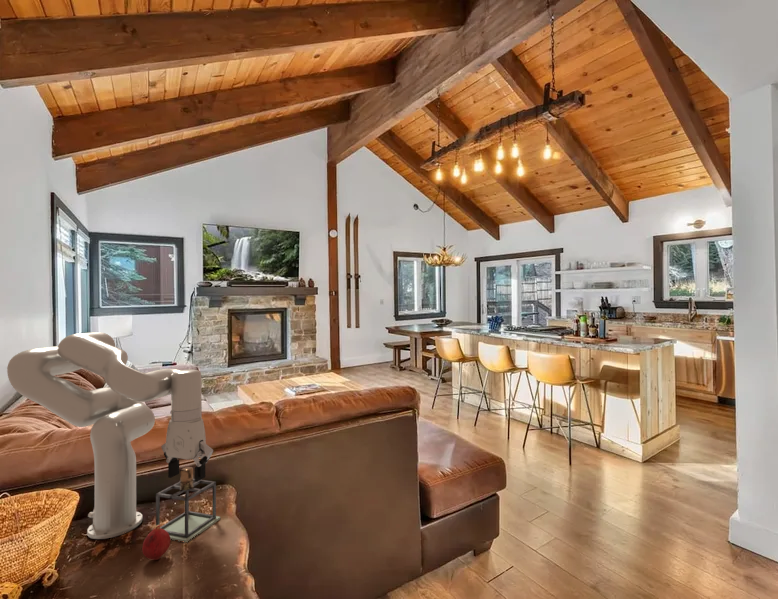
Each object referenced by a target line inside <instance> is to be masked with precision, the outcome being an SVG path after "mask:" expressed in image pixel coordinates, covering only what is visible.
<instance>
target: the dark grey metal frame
mask: <svg viewBox="0 0 778 599" xmlns="http://www.w3.org/2000/svg"><path fill="white" fill-rule="evenodd" d="M179 477H180V480H179V481H178V482H176V483H174V484H173V485H172V484H171V485H170V486H167V487H166V488H164V489H163V490H161V491H159V492H157V493H155V526H156V525H160V528H161V529H164V528H166V527H167V526H169V525H170V524H172V523H174V522H175V521H177V520H178V519H180V518H182V517H183V516H185V534H183V533H178V532H173V531H168V530H166V531H167V532H168V533H169V535H173V536H178V537H183V538H188V537H189V536H191V535H192V534H193V533H195V532H196V531H198V530H199V529H201V528H202V527H204V526H205V525H206V524H208V523H209V522H211V521H212V520H214V519H215V518H216V516H217V482H216V481H213V480H205V479H201V480H200V481H198V482H196V481H195V478H194V467H192V466H188V467H187V466H186V467H182V468H181V469H179ZM199 484H206V486H204V487H202V488H197V487H196V486H197V485H199ZM210 488H212V514H208V513H202V512H197V511H191V510H190V508H189V507H190V500H191V499H192V498H194V497H196V496H198V495H200V494H201V493H202V492H203V493H204V492H205V491H207V490H208V489H210ZM172 489H175V490H179V491H177V492H175V493H173V494H167V493H168V491H171V490H172ZM190 492H194V493H191V494H190ZM183 493H185V495H184V496H180V495H182V494H183ZM160 498H165V499H171V500H172V499H173V500H177V501H178V500H179V501H184V512H183V513H181V514H179V515H178V516H176V517H175V518H173V519H171V520H170V521H167V522H166V523H165V524H163V525H161V524H160V523H161V522H160V521H161V519H160V517H161V514H160V513H161V512H160V511H161V508H160V506H161V504H160V501H161V500H160ZM188 514H190V515H195V516H201V517H207V518H210V519H208V520H207V521H205V522H204V523H202V524H201V525H199V526H198V527H197V528H195V529H194V530H192V531H191V532H189V533H188Z"/></svg>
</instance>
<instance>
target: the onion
mask: <svg viewBox="0 0 778 599" xmlns="http://www.w3.org/2000/svg"><path fill="white" fill-rule="evenodd" d="M160 527H161V524H160V525H156V524H155V527H154V528H153V529H152V530H150V532H149V533H148V534H147V536H146V537H145V538H144V539H143V543H142V548H141V551H142V554H143V556H144V557H145V558H147V559H149V560H153V561H159V560H160V559H161V557H162V556H164V555H165V553H167V552H168V550H169V548H170V547H171V541H172V540H171V539H170V535H169V533H168V532H167V531H166V530H164V529H161V528H160Z"/></svg>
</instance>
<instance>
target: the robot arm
mask: <svg viewBox="0 0 778 599" xmlns="http://www.w3.org/2000/svg"><path fill="white" fill-rule="evenodd" d="M128 355H129V354H127V352H126V351H125V350H124V349H121V348H119V347H117V346H116V342H115V340H114V338H113V337H112V336H111V335H109V334H107V333H105V332H101V331H100V332H99V331H97V332H95V331H94V332H80V333H79V332H78V333H73V334H69V335H67V336H65V337H64V338H63V339H61V341H60V342H59V343H58V344H57V345H55V346H47V347H46V346H45V347H36V348H31V349H26V350H24V351H21V352H18V353H17V354H15V355H13V357H11V359H10V360H9V362H8V364H7V367H6V369H7V370H6V372H7V378H8V381H9V383H10V385H11V386H12V388H13V389H14V391H16V392H17V393H18V394H20V395H21V396H23V397H24V398H26V399H28V400H30V401H31V402H34V403H36V404H38V405H40V406H42V407H44V408H45V409H47V410H48V411H50V412H51V413H52V414H55V415H56V416H58V418H59V417H60V419H63V420H64V421H66V422H68V423H69V424H71V425H73V426H75V427H77V428H78V427H79V428H85V427H89V426H91V429H90V433H89V439H90V443H91V447H92V452H93V460H94V507H93V510H92V511H90V512H89V513H88V514H87V517H88V518H91V519H92V524H91V525H89V526H88V528H87V529H86V530H87V531H86V534H87V535H86V536H88V538H90V539H93V540H106V539H109V538H115V537H119V536H122V535H124V534H126V533H129V532H131V531H132V530H134V529H136V528H137V527H138V526H140V525H141V523H142V522H143V516H144V515H143V514H142V513H141V512H139V511H137V457H136V453H135V450H134V448H133V446H132V443H131V442H133V441H134V440H136V439H138V438H140V437H143V436H144V435H146V434H147V433H149V432H150V431H151V430H152V429H153V428H154V426H155V423H156V422H155V421H156V417H155V414H154V411H153V410H152V409H151V408H150V407H149V406H148V405H146V404H145V403H146V402H152V401H154V400H156V399H160V398H163V397H166V396H167V397H168V396H169V395H170V396H171V397H170V402H171V403H170V406H171V410H170V415H171V416H170V418H171V419H169V422H168V424H167V432H166V436H165V437H166V438H165V439H166V440H165V442H164V443H163V444H161V446H160V447H161V450H162V451H163V456H164V457H165V461H166V463H167V464H168V467H167V472H168V473H167V475H168V478H170V479H172V478H173V477H176V476H177V475H180V460H187V461H188V460H192V461H193V462H194V463H195V465H196V466H195V467H194V479H195V481H196V482H198V481H200V480H204V479H205V478H206V464H207V463H208V462H209V460H210V459H211V456H212V454H213V453H214V449H213V448H212V447H210V446H209V445H208V444H207V442H206V438H207V437H206V429H205V424H204V423H205V422H204V419H203V417H202V398H203V397H202V373H201V371H200V370H199V369H175V368H162V369H158V370H152V371H149V372H142V371H139V370H136V369H134V368H132V367H130V366H128V365H127V364H128V363H127V362H128V359H129V356H128ZM81 369H84V370H85V371H88V372H90V373H92V374H95V375H98V376H100V377H102V378H104V380H103V381H104V382H105V384H107V387H101V388H96V389H89V390H88V389H85V388H83V387H80V386H79V385H78V384H76V383H74V382H72V381H70V380H68V379H64V378H61V377H58V376H59V375H63V374H64V375H65V374H70V373H74V372H77V371H79V370H81Z"/></svg>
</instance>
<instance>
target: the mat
mask: <svg viewBox="0 0 778 599" xmlns="http://www.w3.org/2000/svg"><path fill="white" fill-rule="evenodd" d="M208 519H210V518H207V517H201V516H195V515H190V514H188V533H189V532H191V531H192V530H194V529H195V528H197V527H198V526H199V525H201V524H202V523H204V522H205V521H207V520H208ZM220 520H221V516H218V515H216V518H215V519H214V520H212V521H211V522H209V523H208V524H206V525H205V526H204V527H202V528H201V529H199V530H198V531H196V532H195V533H193V534H192V535H191V536H189V537H188V538H183V537H178V536H173V535H170V539H172V540H171V541H175V540H178V541H177V542H180V541H184V542H183V543H185V542H187V543H189V542H190V541H191V540H193V539H194V538H196V537H197V536H199V535H198V534H202V533H203V532H205V531H206V530H207V529H209V528H210V527H212V526H213V525H215V523H217V522H218V521H220ZM164 530H168V531H173V532H178V533H183V534H185V516H183V517H182V518H180V519H178V520H177V521H175V522H174V523H172V524H170V525H169V526H167V527H166V528H164ZM196 535H197V536H196ZM195 536H196V537H195ZM193 537H194V538H193ZM192 538H193V539H192ZM190 539H191V540H190ZM189 540H190V541H189ZM188 541H189V542H188Z"/></svg>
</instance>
